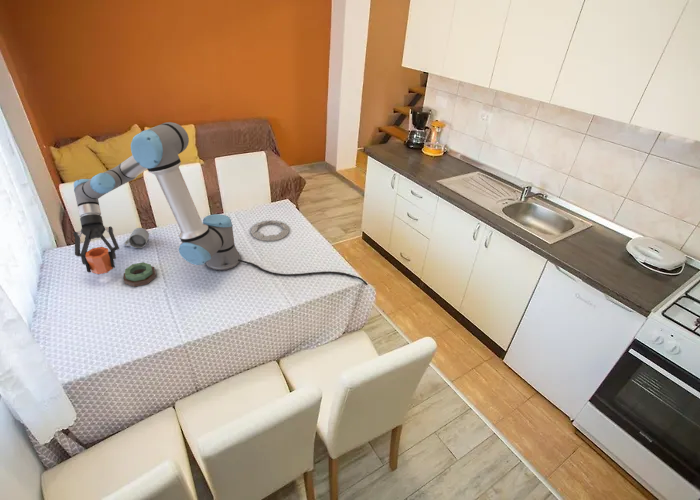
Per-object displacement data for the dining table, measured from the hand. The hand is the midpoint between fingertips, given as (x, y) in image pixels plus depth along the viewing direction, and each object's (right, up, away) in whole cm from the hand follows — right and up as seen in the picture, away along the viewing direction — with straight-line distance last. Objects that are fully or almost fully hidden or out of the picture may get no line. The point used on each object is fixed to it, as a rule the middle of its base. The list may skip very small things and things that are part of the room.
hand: (101, 269), depth 154 cm
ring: (+59, +18, +46) cm, 77 cm away
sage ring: (+11, -2, +7) cm, 14 cm away
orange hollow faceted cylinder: (-2, 0, +4) cm, 4 cm away
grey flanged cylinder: (-1, +10, +28) cm, 30 cm away
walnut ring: (+11, -4, +9) cm, 15 cm away
